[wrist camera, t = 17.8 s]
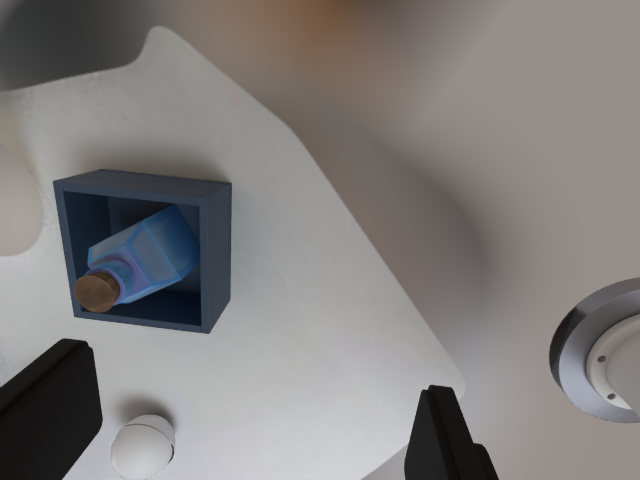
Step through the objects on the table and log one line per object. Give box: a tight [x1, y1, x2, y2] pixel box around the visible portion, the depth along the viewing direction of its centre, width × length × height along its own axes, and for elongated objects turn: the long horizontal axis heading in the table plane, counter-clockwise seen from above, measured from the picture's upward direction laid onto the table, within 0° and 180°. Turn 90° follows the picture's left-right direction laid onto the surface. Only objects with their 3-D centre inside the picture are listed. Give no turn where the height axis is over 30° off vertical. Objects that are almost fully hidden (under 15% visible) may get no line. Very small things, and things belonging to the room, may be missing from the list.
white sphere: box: [111, 415, 175, 480], centre depth 45 cm, size 10×7×7 cm
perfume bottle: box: [74, 204, 200, 313], centre depth 33 cm, size 6×6×12 cm
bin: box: [53, 169, 232, 334], centre depth 37 cm, size 14×14×7 cm
